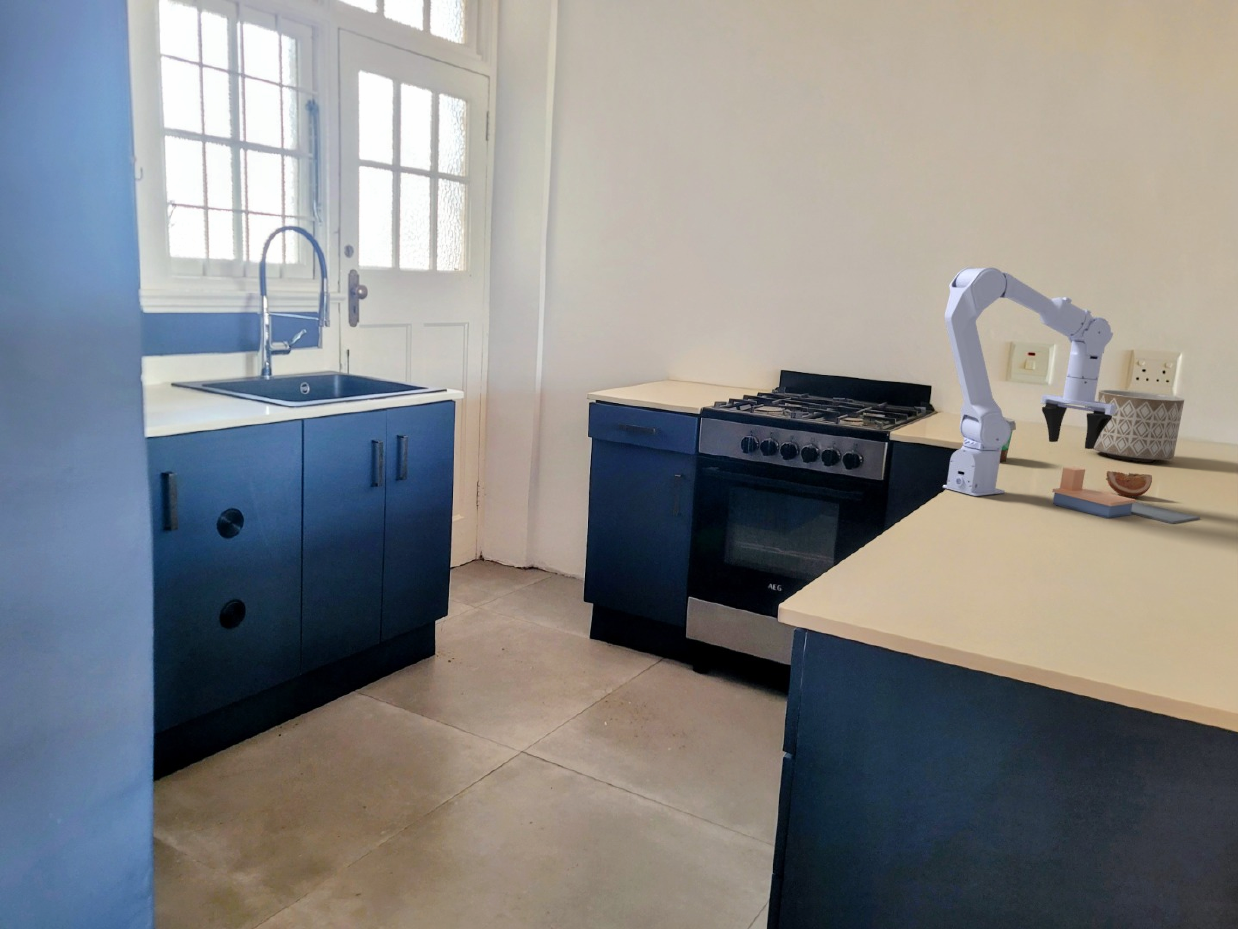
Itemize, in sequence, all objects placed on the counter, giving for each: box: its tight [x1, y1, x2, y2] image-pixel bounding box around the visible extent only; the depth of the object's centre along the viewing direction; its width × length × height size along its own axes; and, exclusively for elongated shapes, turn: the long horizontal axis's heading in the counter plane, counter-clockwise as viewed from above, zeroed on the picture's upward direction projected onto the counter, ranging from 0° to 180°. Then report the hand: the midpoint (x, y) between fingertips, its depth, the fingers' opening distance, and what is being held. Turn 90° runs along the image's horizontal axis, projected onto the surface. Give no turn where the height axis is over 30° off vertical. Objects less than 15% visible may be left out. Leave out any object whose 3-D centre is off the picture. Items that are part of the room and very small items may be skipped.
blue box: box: [1052, 492, 1133, 519], centre depth 178 cm, size 8×11×2 cm
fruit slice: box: [1105, 470, 1153, 498], centre depth 193 cm, size 8×7×5 cm
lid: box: [1051, 466, 1137, 506], centre depth 178 cm, size 8×12×6 cm
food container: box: [999, 416, 1017, 463], centre depth 227 cm, size 12×6×10 cm, turn 168°
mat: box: [1131, 501, 1201, 525], centre depth 179 cm, size 10×13×1 cm
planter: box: [1093, 389, 1185, 463], centre depth 242 cm, size 19×19×16 cm
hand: (1070, 445), depth 189 cm, fingers open, 7 cm apart
